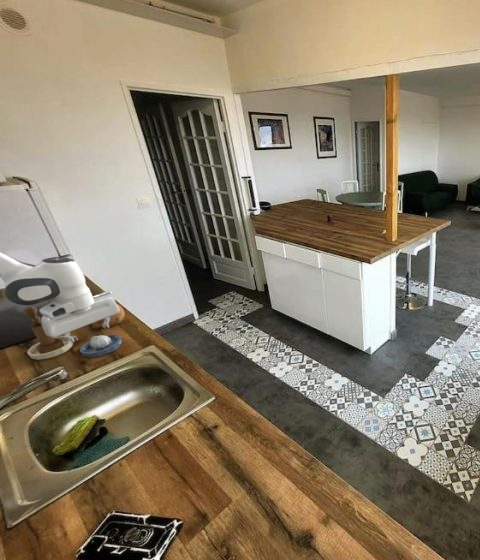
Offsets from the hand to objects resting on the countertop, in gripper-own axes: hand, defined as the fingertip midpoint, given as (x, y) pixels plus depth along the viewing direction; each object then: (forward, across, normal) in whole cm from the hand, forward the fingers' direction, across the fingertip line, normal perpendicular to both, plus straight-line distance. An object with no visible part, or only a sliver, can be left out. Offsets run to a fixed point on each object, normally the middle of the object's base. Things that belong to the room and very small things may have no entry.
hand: (91, 334), depth 114 cm
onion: (+7, -12, -14) cm, 20 cm away
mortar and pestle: (+7, +8, -14) cm, 18 cm away
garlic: (+7, -1, 0) cm, 7 cm away
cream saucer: (+7, +8, -14) cm, 18 cm away
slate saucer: (+7, -1, 0) cm, 7 cm away
